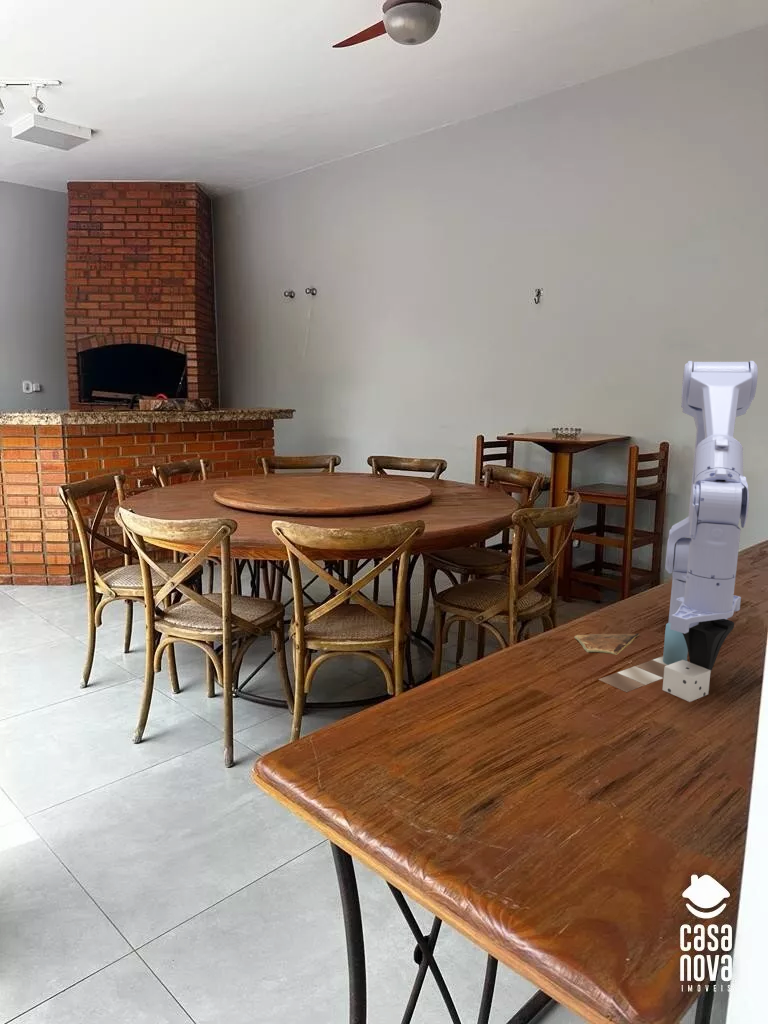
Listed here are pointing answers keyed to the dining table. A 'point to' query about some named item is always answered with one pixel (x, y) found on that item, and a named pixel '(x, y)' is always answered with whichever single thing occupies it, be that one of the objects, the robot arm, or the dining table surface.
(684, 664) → the die
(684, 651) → the blue capsule cylinder
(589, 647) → the shard
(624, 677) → the board
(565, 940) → the dining table surface
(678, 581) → the robot arm
